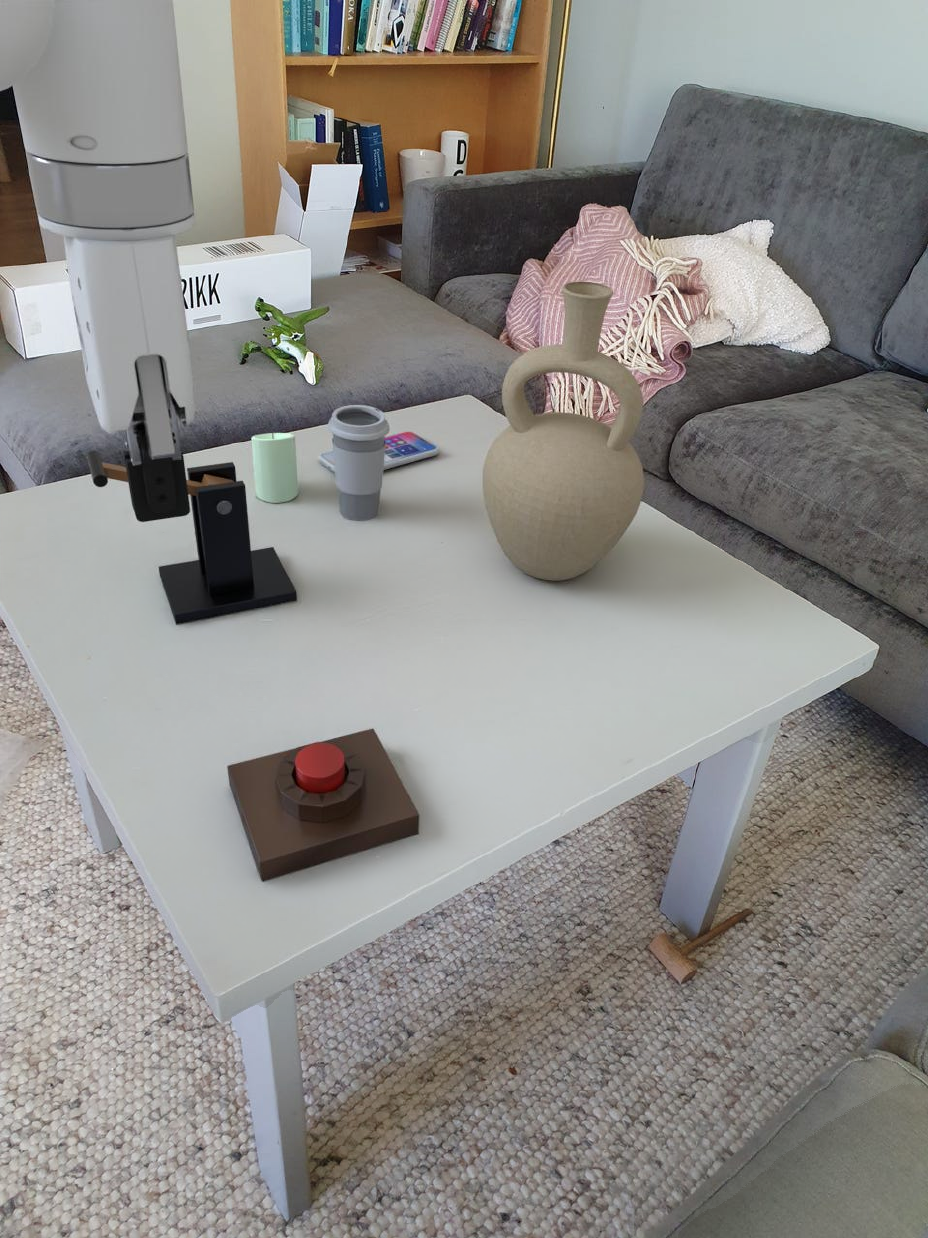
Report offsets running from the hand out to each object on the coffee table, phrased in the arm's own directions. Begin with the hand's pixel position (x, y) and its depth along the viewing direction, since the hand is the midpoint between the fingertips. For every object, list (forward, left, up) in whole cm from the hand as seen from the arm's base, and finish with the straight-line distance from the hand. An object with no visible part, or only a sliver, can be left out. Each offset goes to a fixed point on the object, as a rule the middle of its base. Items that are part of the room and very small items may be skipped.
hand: (161, 512), depth 56 cm
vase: (+42, +20, -25) cm, 53 cm away
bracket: (+8, +27, -25) cm, 38 cm away
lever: (+3, +27, -13) cm, 30 cm away
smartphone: (+33, +50, -25) cm, 65 cm away
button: (+8, -5, -21) cm, 23 cm away
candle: (+18, +45, -25) cm, 55 cm away
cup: (+26, +38, -25) cm, 53 cm away
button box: (+8, -5, -25) cm, 27 cm away
